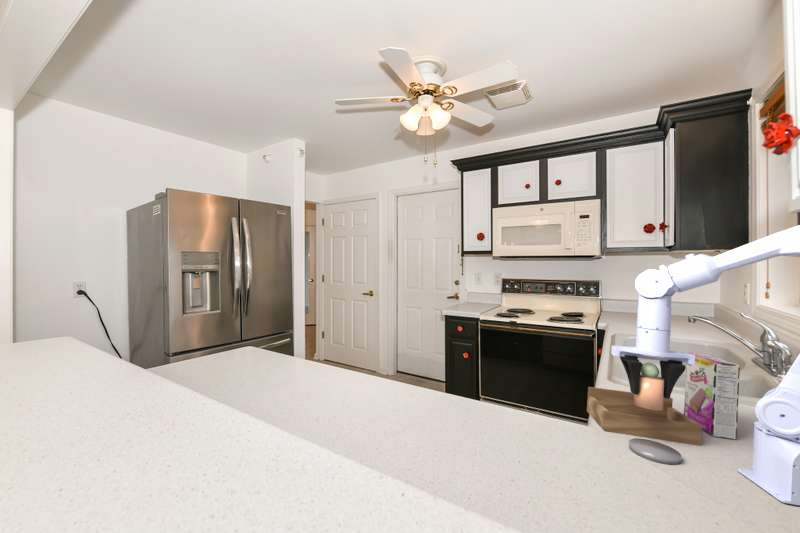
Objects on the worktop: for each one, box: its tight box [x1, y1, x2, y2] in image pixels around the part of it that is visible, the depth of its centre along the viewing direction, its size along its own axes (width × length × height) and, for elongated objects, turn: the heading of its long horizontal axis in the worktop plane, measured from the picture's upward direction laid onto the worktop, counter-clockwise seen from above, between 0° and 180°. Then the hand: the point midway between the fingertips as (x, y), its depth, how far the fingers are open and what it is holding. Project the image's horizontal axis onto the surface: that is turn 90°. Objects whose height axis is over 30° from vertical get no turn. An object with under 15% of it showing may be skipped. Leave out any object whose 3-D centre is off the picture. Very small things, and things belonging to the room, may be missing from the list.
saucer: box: [628, 437, 682, 466], centre depth 67 cm, size 8×8×1 cm
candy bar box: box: [683, 352, 741, 440], centre depth 83 cm, size 11×5×16 cm, turn 168°
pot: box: [634, 362, 664, 411], centre depth 73 cm, size 5×5×9 cm
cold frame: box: [586, 386, 703, 447], centre depth 80 cm, size 12×18×6 cm, turn 78°
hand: (649, 395), depth 73 cm, fingers closed on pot, 5 cm apart
